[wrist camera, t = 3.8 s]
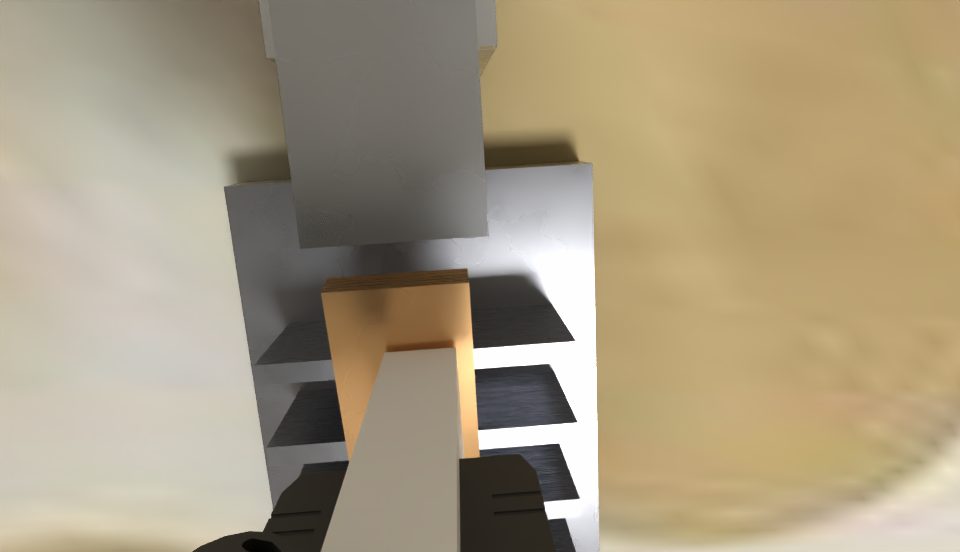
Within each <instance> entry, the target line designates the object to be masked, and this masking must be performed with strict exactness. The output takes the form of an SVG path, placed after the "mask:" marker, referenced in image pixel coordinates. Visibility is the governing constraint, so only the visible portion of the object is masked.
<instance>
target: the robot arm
mask: <svg viewBox="0 0 960 552" xmlns="http://www.w3.org/2000/svg"><path fill="white" fill-rule="evenodd" d="M193 552H556V551H555V547H554V542H553V538H552V534H551V530H550V526H549V522H548V517H547V513H546V511H545V505H544V501H543V497H542V495H541V488H540V484H539V480H538V476H537V472H536V470H535V469H534V468H533V467H532V466H531V465H530V464H529V463H528V462H527V461H526V460H525V459H524V458H523V457H522V456H521V455H520V454H515V455H502V456H489V457H476V458H464V447H463V433H462V420H461V407H460V393H459V380H458V367H457V353H456V347H455V348H441V349H427V350H413V351H399V352H386V353H384V356H383V359H382V362H381V365H380V368H379V371H378V374H377V378H376V381H375V384H374V387H373V390H372V393H371V396H370V399H369V403H368V406H367V409H366V412H365V415H364V418H363V421H362V424H361V428H360V431H359V434H358V437H357V440H356V443H355V446H354V449H353V453H352V456H351V459H350V462H349V465H348V468H347V470H337V471H324V472H310V473H303V474H302V475H301V476H300V477H298V478H297V479H296V480H295V481H294V482H293V483H292V484H291V485H290V486H288V487H287V488H286V489H285V490H284V491H283V492H282V493H281V495H280V497H279V499H278V501H277V504H276V506H275V508H274V510H273V512H272V514H271V519H269V520H268V522H267V524H266V526H265V528H264V531H263V532H253V531H249V532H244V533H239V534H234V535H229V536H224V537H222V538H219V539H217V540H215V541H212V542H210V543H207V544H205V545H202V546H200V547H199V548H197V549H196V550H194V551H193Z"/></svg>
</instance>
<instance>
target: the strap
mask: <svg viewBox="0 0 960 552" xmlns="http://www.w3.org/2000/svg"><path fill="white" fill-rule="evenodd" d="M321 297H322V303H323V309H324V315H325V321H326V327H327V333H328V339H329V345H330V351H331V357H332V363H333V369H334V375H335V381H336V387H337V393H338V399H339V405H340V411H341V417H342V423H343V429H344V435H345V441H346V447H347V453H348V459H349V462H350V459H351V456H352V453H353V449H354V446H355V443H356V440H357V437H358V434H359V431H360V428H361V424H362V421H363V418H364V415H365V412H366V409H367V406H368V403H369V399H370V396H371V393H372V390H373V387H374V384H375V381H376V378H377V374H378V371H379V368H380V365H381V362H382V359H383V356H384V353H386V352H399V351H413V350H427V349H441V348H455V347H456V353H457V367H458V380H459V393H460V407H461V420H462V433H463V447H464V458H476V457H480V452H479V436H478V419H477V403H476V387H475V370H474V354H473V337H472V321H471V305H470V288H469V277H468V269H467V268H461V269H446V270H432V271H418V272H403V273H389V274H375V275H360V276H346V277H332V278H327V280H326V282H325V285H324V287H323V289H322V292H321Z"/></svg>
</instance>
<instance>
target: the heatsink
mask: <svg viewBox="0 0 960 552" xmlns="http://www.w3.org/2000/svg"><path fill="white" fill-rule="evenodd" d="M485 179H486V197H487V215H488V232H489V236H483V237H468V238H453V239H438V240H424V241H409V242H394V243H379V244H365V245H350V246H335V247H320V248H306V249H300V245H299V238H298V230H297V222H296V214H295V206H294V199H293V191H292V183H291V179H289V180H273V181H257V182H243V183H239V184H234V185H229V186H225V187H224V191H225V197H226V204H227V210H228V217H229V223H230V230H231V236H232V243H233V250H234V256H235V263H236V269H237V276H238V282H239V289H240V295H241V302H242V308H243V315H244V321H245V328H246V334H247V341H248V347H249V354H250V360H251V367H252V374H253V380H254V387H255V393H256V400H257V406H258V413H259V419H260V426H261V432H262V439H263V445H264V452H265V458H266V465H267V471H268V478H269V484H270V491H271V498H272V504H273V510H274V508H275V506H276V504H277V501H278V499H279V497H280V495H281V493H282V492H283V491H284V490H285V489H286V488H287V487H288V486H290V485H291V484H292V483H293V482H294V481H295V480H296V479H297V478H298V477H300V476H301V475H302V474H303V473H310V472H324V471H337V470H347V468H348V465H349V459H348V453H347V447H346V441H345V435H344V429H343V423H342V417H341V411H340V405H339V399H338V393H337V387H336V381H335V375H334V369H333V363H332V357H331V351H330V345H329V339H328V333H327V327H326V321H325V315H324V309H323V303H322V297H321V292H322V289H323V287H324V285H325V282H326V280H327V278H332V277H346V276H360V275H375V274H389V273H403V272H418V271H432V270H446V269H461V268H467V269H468V277H469V288H470V305H471V321H472V337H473V354H474V370H475V387H476V403H477V419H478V436H479V452H480V457H489V456H502V455H515V454H520V455H521V456H522V457H523V458H524V459H525V460H526V461H527V462H528V463H529V464H530V465H531V466H532V467H533V468H534V469H535V470H536V472H537V476H538V480H539V484H540V488H541V495H542V497H543V501H544V505H545V511H546V513H547V517H548V522H549V526H550V530H551V534H552V538H553V542H554V547H555V551H556V552H599V511H598V454H597V397H596V340H595V283H594V226H593V169H592V163H587V162H581V161H574V162H558V163H542V164H527V165H511V166H495V167H485Z"/></svg>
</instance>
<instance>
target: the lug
mask: <svg viewBox="0 0 960 552" xmlns="http://www.w3.org/2000/svg"><path fill="white" fill-rule="evenodd" d="M259 7H260V15H261V22H262V30H263V38H264V45H265V53H266V58H267V59H270V60H272V61H274V62H276V66H277V74H278V81H279V89H280V97H281V105H282V113H283V120H284V128H285V136H286V144H287V152H288V160H289V167H290V175H291V183H292V191H293V199H294V206H295V214H296V222H297V230H298V238H299V245H300V249H306V248H320V247H335V246H350V245H365V244H379V243H394V242H409V241H424V240H438V239H453V238H468V237H483V236H489V232H488V215H487V197H486V179H485V162H484V144H483V127H482V109H481V91H480V76H481V74H482V72H483V70H484V69H485V67H486V65H487V63H488V61H489V60H490V58H491V56H492V54H493V52H494V51H495V49H496V47H497V27H496V7H495V0H259Z"/></svg>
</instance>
